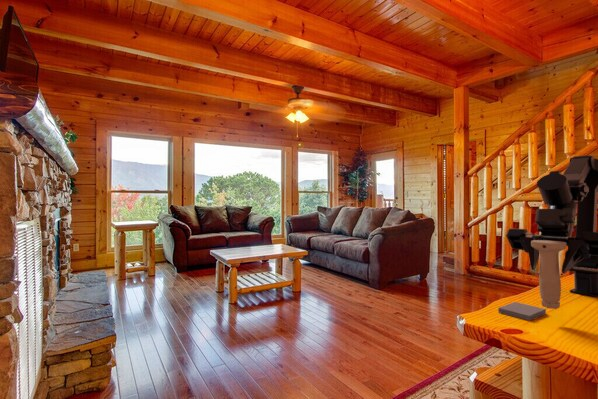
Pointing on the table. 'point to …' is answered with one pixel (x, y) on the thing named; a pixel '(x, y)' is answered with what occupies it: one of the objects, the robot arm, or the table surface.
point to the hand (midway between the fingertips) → (547, 270)
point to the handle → (549, 271)
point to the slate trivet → (522, 311)
